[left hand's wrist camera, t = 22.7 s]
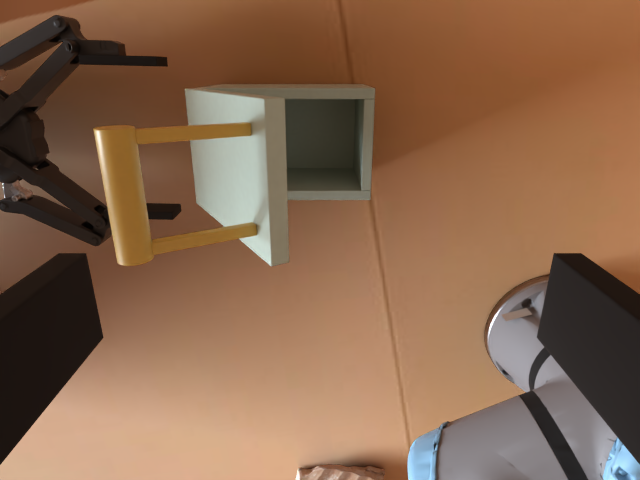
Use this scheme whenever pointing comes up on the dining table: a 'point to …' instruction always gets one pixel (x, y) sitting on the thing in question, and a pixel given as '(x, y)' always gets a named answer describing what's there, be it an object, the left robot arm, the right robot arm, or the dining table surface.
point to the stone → (340, 473)
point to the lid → (206, 176)
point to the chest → (324, 137)
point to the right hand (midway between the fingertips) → (170, 141)
